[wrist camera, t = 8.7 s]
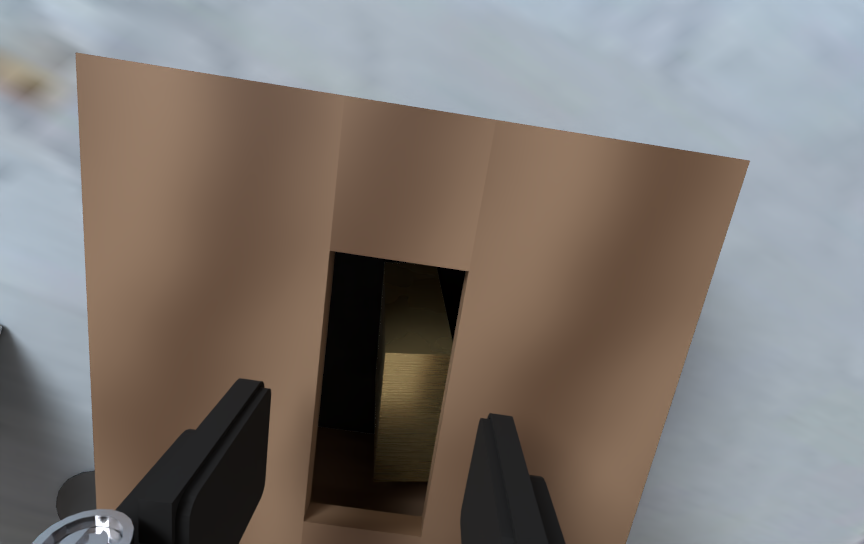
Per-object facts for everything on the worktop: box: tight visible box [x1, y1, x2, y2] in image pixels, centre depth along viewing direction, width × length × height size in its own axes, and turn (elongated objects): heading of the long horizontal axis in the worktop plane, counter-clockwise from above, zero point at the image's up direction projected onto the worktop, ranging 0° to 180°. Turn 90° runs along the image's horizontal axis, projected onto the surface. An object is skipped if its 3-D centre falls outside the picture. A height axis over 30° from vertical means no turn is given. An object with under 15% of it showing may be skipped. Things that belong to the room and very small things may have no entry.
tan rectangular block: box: [374, 262, 453, 482], centre depth 19 cm, size 2×6×6 cm
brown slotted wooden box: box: [76, 53, 750, 544], centre depth 18 cm, size 16×16×9 cm
